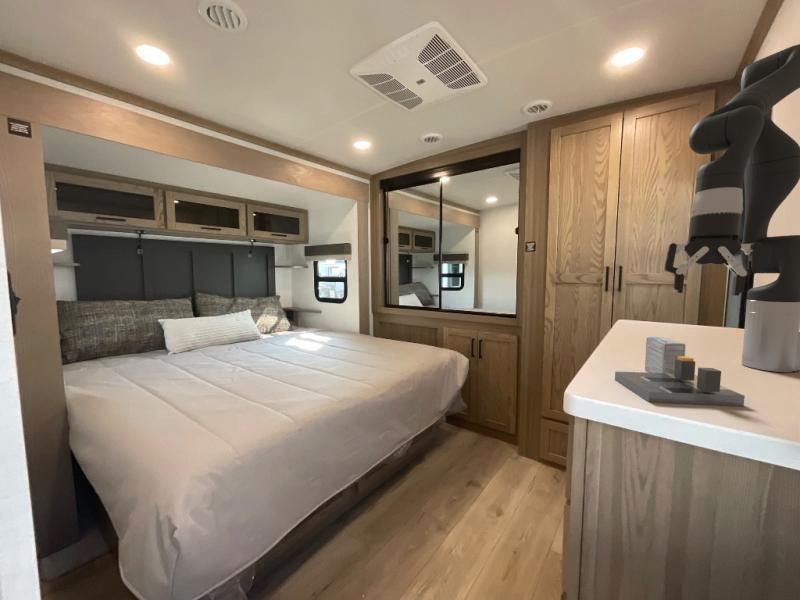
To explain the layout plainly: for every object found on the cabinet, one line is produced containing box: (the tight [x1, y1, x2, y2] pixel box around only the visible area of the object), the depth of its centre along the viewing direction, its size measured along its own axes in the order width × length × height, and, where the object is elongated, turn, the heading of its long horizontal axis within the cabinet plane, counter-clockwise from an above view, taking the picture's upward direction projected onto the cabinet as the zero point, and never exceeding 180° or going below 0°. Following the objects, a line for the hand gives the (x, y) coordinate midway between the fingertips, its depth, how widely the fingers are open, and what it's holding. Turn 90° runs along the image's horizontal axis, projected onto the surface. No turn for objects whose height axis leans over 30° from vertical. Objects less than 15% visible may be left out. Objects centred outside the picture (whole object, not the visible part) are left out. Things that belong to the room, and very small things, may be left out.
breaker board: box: [614, 370, 746, 407], centre depth 68 cm, size 16×13×2 cm
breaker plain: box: [697, 367, 722, 392], centre depth 63 cm, size 2×2×4 cm
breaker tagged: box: [674, 355, 696, 381], centre depth 69 cm, size 2×2×5 cm
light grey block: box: [644, 336, 686, 373], centre depth 79 cm, size 8×4×9 cm, turn 168°
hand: (706, 294), depth 68 cm, fingers open, 8 cm apart
